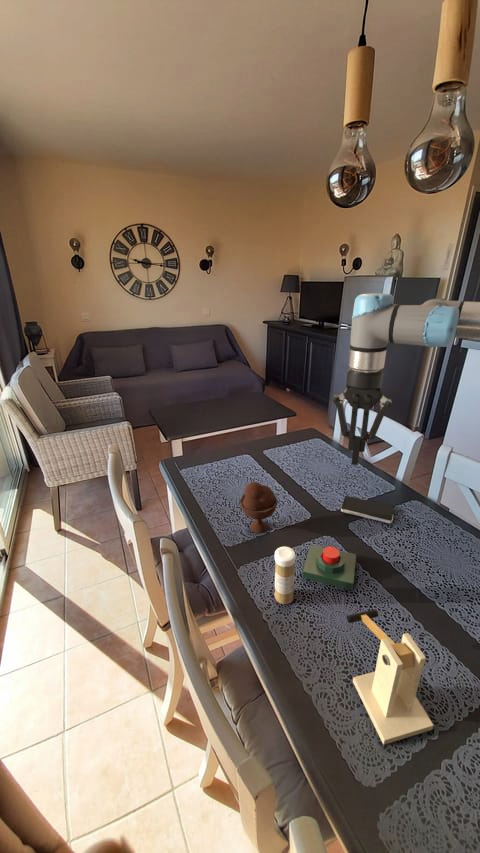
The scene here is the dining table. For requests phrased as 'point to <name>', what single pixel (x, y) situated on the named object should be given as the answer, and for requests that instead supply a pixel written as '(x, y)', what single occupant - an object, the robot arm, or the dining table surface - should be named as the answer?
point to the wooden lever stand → (394, 693)
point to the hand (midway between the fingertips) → (354, 462)
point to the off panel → (330, 568)
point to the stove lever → (383, 636)
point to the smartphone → (368, 509)
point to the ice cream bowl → (258, 505)
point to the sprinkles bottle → (284, 574)
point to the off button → (331, 555)
